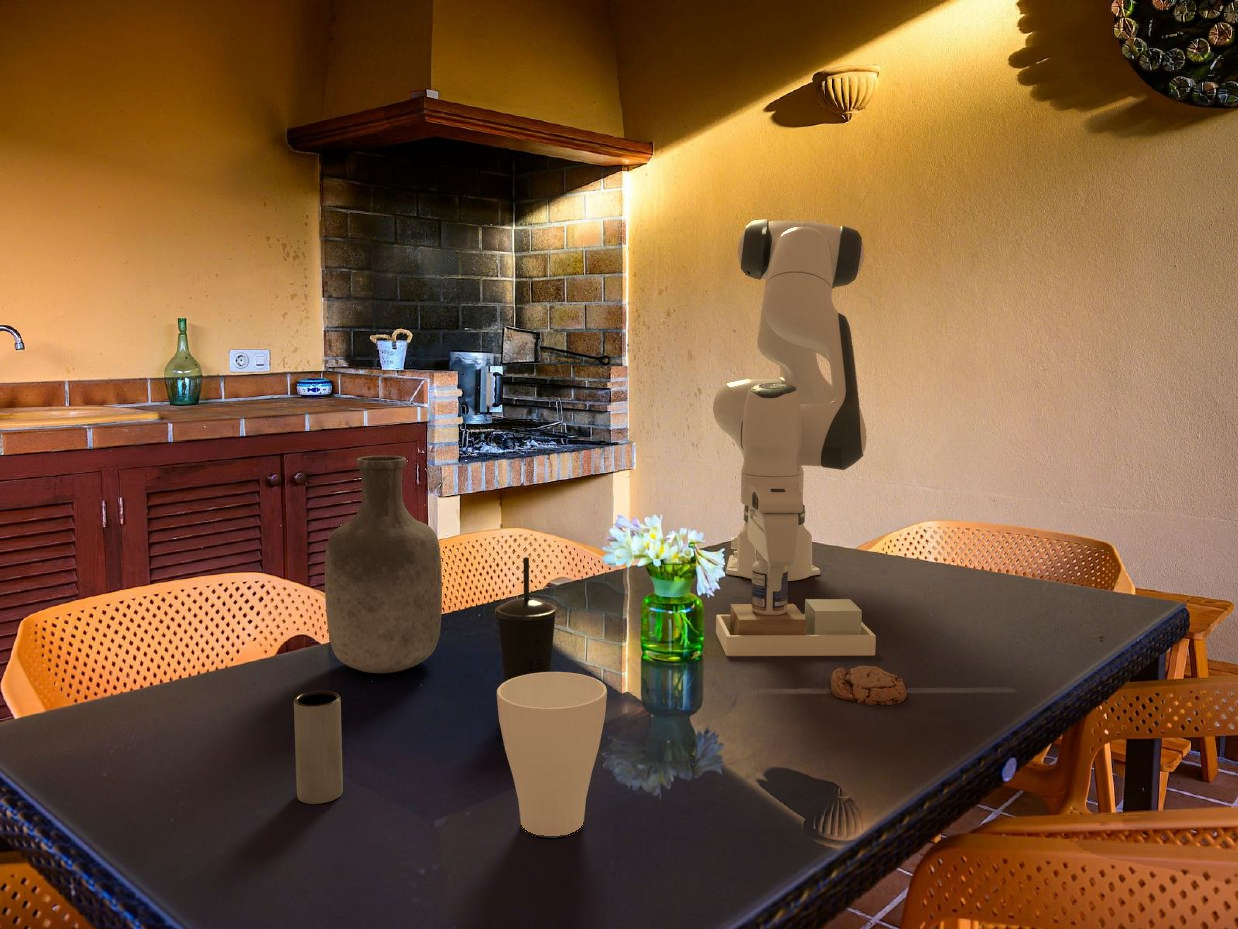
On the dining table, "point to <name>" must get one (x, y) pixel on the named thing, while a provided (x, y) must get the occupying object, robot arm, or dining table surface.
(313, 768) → the planter
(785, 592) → the pill bottle
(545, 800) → the cup
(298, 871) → the dining table surface
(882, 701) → the cookie
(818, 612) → the pale green block
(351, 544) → the vase
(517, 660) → the drinking cup
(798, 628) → the walnut block
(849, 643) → the box
